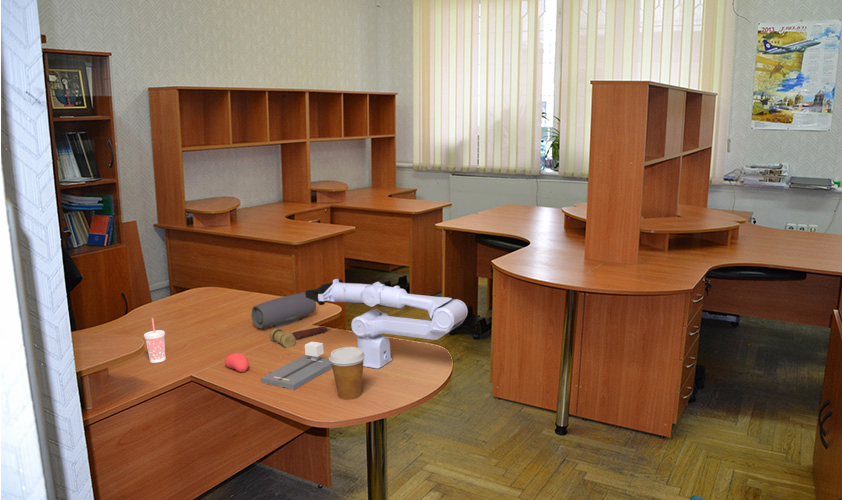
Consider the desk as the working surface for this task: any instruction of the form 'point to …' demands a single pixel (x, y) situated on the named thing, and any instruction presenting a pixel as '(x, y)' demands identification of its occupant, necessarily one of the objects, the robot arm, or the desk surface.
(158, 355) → the beverage cup
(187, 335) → the desk surface
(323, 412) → the desk surface
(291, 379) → the grey slider base
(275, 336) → the gavel
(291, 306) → the bluetooth speaker
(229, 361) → the red kidney bean
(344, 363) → the disposable coffee cup
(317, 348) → the fader
